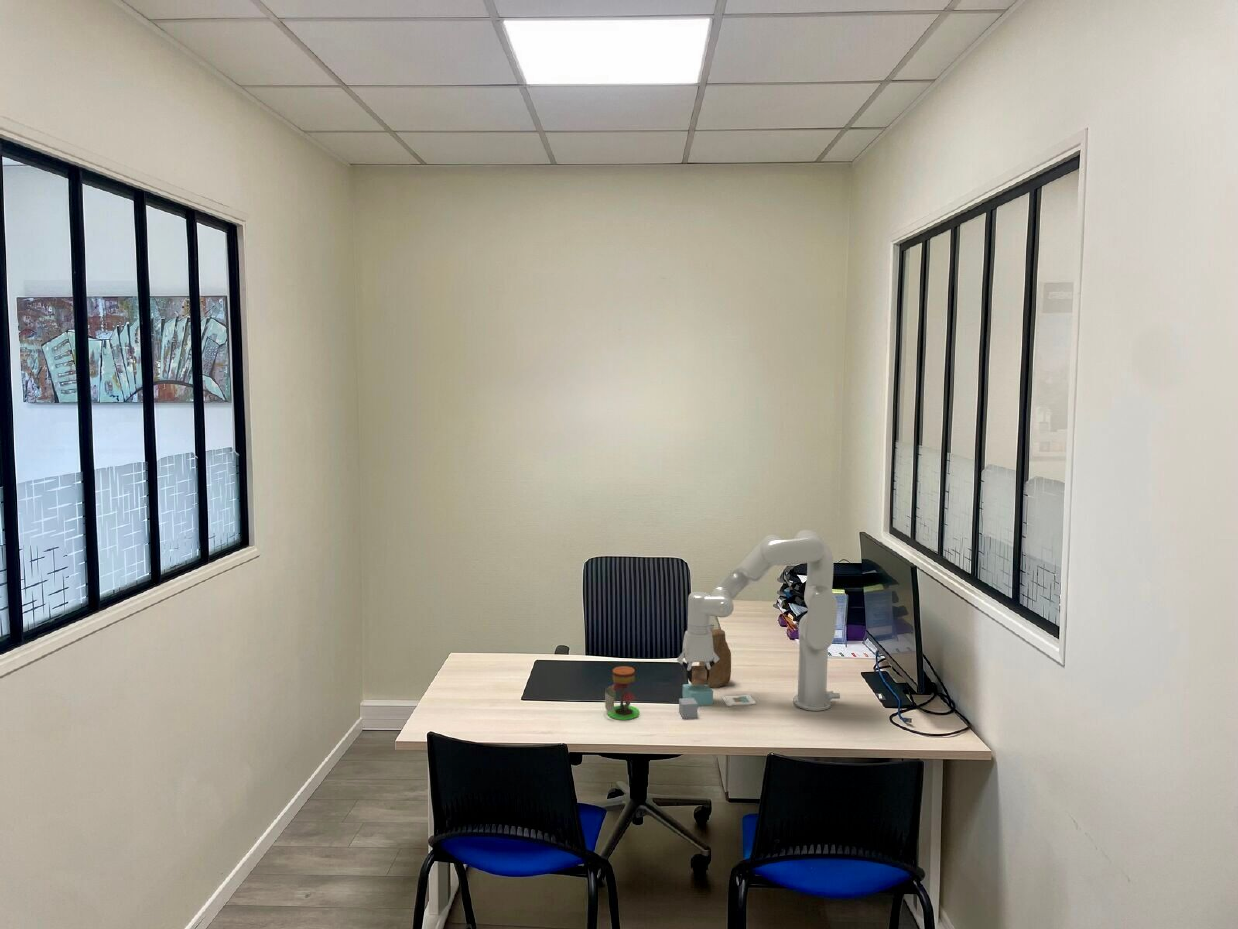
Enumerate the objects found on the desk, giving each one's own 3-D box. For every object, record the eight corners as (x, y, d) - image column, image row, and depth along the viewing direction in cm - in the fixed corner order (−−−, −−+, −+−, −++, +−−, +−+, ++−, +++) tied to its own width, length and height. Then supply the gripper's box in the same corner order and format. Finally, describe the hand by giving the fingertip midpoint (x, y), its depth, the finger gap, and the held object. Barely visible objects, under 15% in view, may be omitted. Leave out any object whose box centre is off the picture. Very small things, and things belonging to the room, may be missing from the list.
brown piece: (703, 689, 296) (704, 634, 294) (697, 681, 303) (698, 628, 301) (732, 687, 298) (733, 633, 295) (726, 679, 305) (727, 626, 303)
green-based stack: (636, 704, 282) (636, 661, 281) (644, 719, 270) (644, 675, 268) (602, 706, 280) (602, 663, 279) (608, 722, 268) (608, 677, 266)
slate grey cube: (693, 712, 276) (693, 697, 276) (697, 718, 272) (697, 703, 271) (678, 713, 276) (679, 698, 275) (682, 719, 271) (682, 704, 270)
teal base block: (703, 696, 290) (704, 682, 290) (712, 705, 283) (713, 690, 282) (682, 698, 288) (682, 684, 287) (690, 707, 280) (691, 693, 280)
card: (749, 696, 290) (749, 694, 290) (755, 704, 283) (755, 702, 283) (721, 697, 288) (721, 696, 288) (727, 706, 281) (727, 704, 281)
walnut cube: (703, 679, 287) (703, 665, 287) (706, 684, 282) (706, 670, 282) (688, 680, 287) (689, 666, 286) (692, 685, 282) (692, 671, 281)
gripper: (720, 624, 287) (718, 674, 289) (671, 626, 285) (671, 677, 287) (726, 631, 280) (724, 682, 282) (676, 633, 277) (675, 685, 279)
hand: (697, 679), depth 284 cm, fingers closed on walnut cube, 5 cm apart
